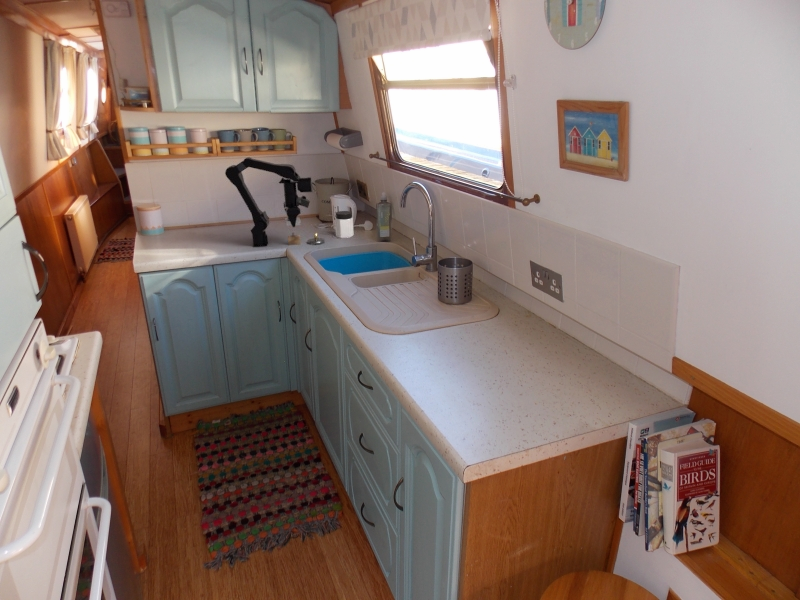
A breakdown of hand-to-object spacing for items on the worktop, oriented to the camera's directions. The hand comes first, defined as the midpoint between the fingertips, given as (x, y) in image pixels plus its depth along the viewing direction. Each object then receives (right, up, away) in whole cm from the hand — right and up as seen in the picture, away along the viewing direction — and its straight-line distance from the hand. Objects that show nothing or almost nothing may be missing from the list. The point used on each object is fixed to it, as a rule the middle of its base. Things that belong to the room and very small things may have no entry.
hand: (293, 225), depth 269 cm
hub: (+10, -8, +5) cm, 14 cm away
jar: (+23, -3, +17) cm, 29 cm away
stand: (0, -9, +3) cm, 9 cm away
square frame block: (0, +1, 0) cm, 1 cm away
